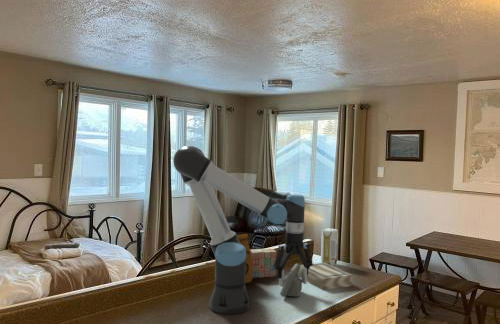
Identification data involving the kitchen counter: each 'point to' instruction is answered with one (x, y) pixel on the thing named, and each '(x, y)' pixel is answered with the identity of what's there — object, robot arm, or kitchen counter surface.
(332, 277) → the birch plinth
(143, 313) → the kitchen counter surface
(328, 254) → the juice carton
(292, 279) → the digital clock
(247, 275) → the coffee package
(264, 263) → the stack of blocks
